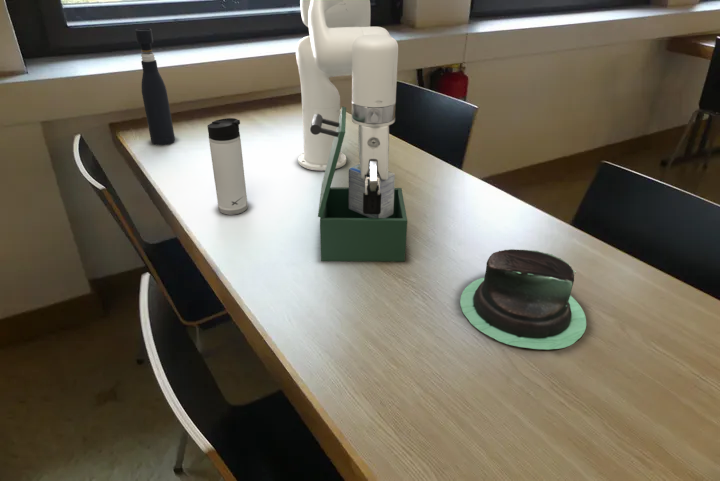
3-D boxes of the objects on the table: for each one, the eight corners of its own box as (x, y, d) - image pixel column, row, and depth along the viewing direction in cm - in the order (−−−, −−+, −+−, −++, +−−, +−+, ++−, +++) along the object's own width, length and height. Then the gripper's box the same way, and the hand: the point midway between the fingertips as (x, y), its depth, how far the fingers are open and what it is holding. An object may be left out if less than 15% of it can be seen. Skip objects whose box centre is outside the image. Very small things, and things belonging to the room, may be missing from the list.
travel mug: (242, 216, 114) (232, 126, 103) (213, 213, 115) (200, 123, 104) (253, 203, 119) (244, 116, 109) (225, 200, 120) (214, 114, 110)
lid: (346, 107, 98) (316, 99, 97) (345, 132, 86) (311, 123, 86) (325, 185, 106) (298, 178, 105) (322, 218, 94) (291, 210, 94)
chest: (399, 226, 111) (401, 187, 107) (404, 261, 99) (407, 220, 95) (324, 225, 111) (323, 187, 106) (321, 261, 99) (319, 219, 95)
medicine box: (394, 215, 101) (396, 173, 96) (378, 223, 98) (380, 180, 94) (363, 201, 105) (364, 161, 101) (347, 209, 103) (347, 167, 98)
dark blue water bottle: (180, 140, 152) (161, 29, 137) (161, 147, 148) (140, 32, 132) (164, 136, 155) (145, 26, 140) (146, 142, 151) (124, 30, 135)
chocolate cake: (570, 271, 96) (613, 350, 79) (473, 308, 100) (494, 390, 84) (544, 206, 89) (585, 278, 72) (441, 250, 94) (457, 326, 77)
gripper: (398, 129, 84) (393, 224, 93) (392, 97, 99) (388, 182, 108) (351, 128, 84) (350, 224, 93) (351, 97, 99) (351, 182, 108)
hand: (371, 201), depth 101 cm, fingers closed on medicine box, 8 cm apart
